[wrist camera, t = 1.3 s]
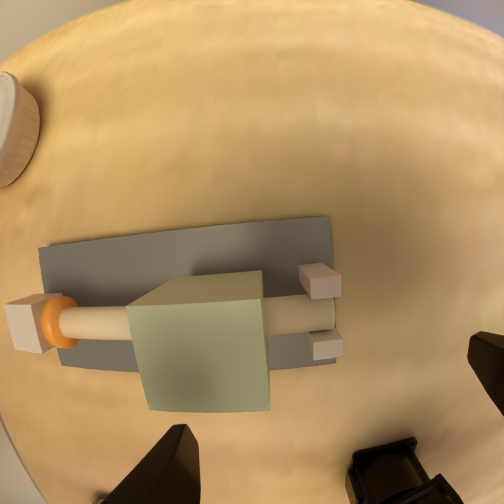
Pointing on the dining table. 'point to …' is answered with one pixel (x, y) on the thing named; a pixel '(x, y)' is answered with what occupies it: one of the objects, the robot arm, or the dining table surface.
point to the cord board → (182, 265)
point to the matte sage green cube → (203, 344)
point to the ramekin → (16, 128)
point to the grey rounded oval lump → (98, 501)
